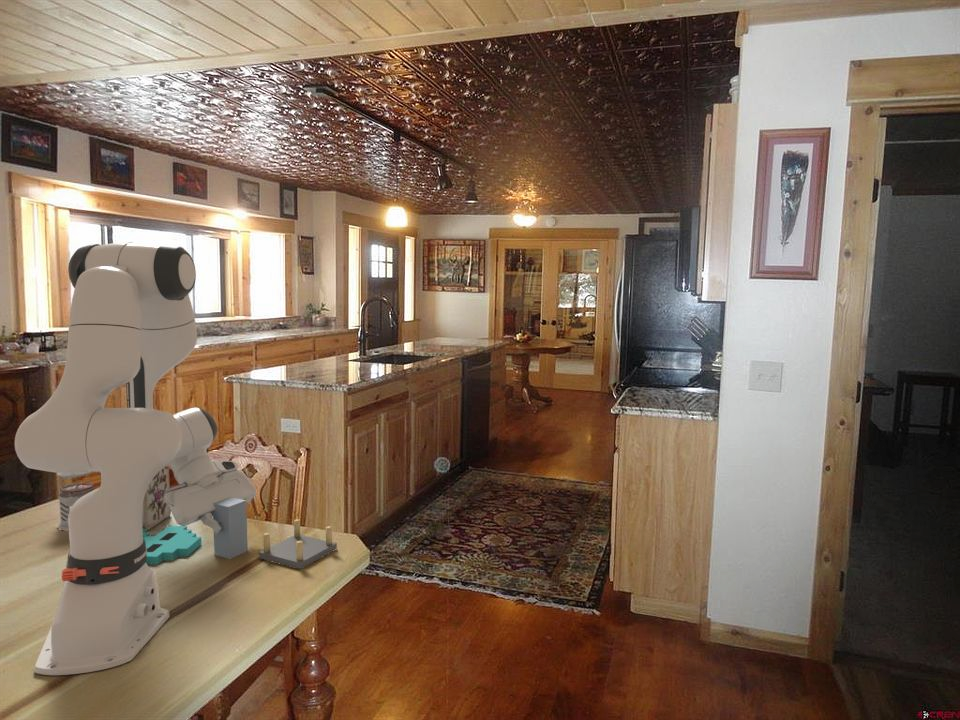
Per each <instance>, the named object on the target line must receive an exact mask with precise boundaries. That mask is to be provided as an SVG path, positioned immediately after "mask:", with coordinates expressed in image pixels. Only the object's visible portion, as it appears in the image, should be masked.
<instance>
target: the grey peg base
mask: <svg viewBox="0 0 960 720" xmlns="http://www.w3.org/2000/svg"><path fill="white" fill-rule="evenodd" d="M262 535H263V536H262V541H263V544H262V545H263V549H262V550H260V551H259V552H258V559H259V558H260V559H259V560H262V559H265V560H264V561H266V560H269V561H268V562H270V561H273V562H272V563H274V562H275V563H274V564H277V563H280V564H279V565H281V564H283V565H282V566H285V565H288V566H287V567H289V566H291V567H290V568H292V567H295V568H294V569H296V568H299V569H298V570H300V569H301V570H302V569H304V568H306V567H308V566H310V565H311V564H313V563H315V562H316V560H317V561H318V559H319V560H320V559H322V558H323V557H322V556H324V557H326V556H327V555H326V554H328V553H329V554H331V553H333V552H334V551H333V550H335V549H337V550H338V545H337V544H338V543H337V542H334V541H333V526H331V525H329V526H325V539H320V538H315V537H311V536H307V535H302V534H301V519H299V518H298V519H294V520H293V535H292V536H289V537H288V538H286V539H284V540H282V541H279V542H277V543H275V544H273V545H271V533H269V532H264V533H262ZM332 551H333V552H332ZM335 551H336V550H335ZM330 552H331V553H330ZM329 554H328V555H329ZM325 555H326V556H325ZM321 557H322V558H321ZM314 561H315V562H314ZM309 564H310V565H309ZM307 565H308V566H307ZM305 566H306V567H305ZM303 567H304V568H303Z"/></svg>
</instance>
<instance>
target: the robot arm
mask: <svg viewBox="0 0 960 720" xmlns="http://www.w3.org/2000/svg"><path fill="white" fill-rule="evenodd" d="M67 270H68V277H69V281H70V283H71V285H72V287H73V288H74V290H73V295H72V298H71V303H70V311H69V316H68V317H69V321H68V335H67V337H68V338H67V348H66V358H65V364H64V370H63V374H62V375H61V379H60V382H59V383H58V385H57V387H56V388H55V390H54V392H53V393H52V395H51V396H50V397H49V399H48V400H47V401H46V402H45V403H44V404H43V405H42V406H41V407H40V408H39V409H37V410H36V411H35V412H33V413H31V414H30V415H28V416H27V417H26V418H25V419H24V420H23V421H22V422H21V424H20V425H19V427H18V428H17V431H16V433H15V437H14V450H15V453H16V455H17V457H18V459H19V461H20V463H22V464H23V465H24V466H25V467H26V468H28V469H31V470H36V471H37V470H38V471H43V472H48V473H49V472H50V473H56V474H57V473H70V472H93V473H100V475H101V477H102V480H101V479H100V486H99V487H97V488H96V489H95V488H94V490H93V491H91V492H89V493H85V494H83V495H84V496H82V497H81V498H79V499H78V500H77V501H76V502H75V503H74V504H73V506H71V507H70V511H69V515H68V525H69V531H68V539H69V552H68V553H67V560H66V564H65V568H64V569H62V570H61V571H62V572H61V580H62V582H63V587H62V590H61V594H60V597H59V600H58V604H57V607H56V610H55V613H54V616H53V617H54V618H53V621H52V623H51V625H50V629H49V631H48V633H47V636H46V637H45V641H44V643H43V646H42V647H41V650H40V652H39V655H38V656H37V660H36V662H35V665H34V673H35V674H38V675H42V676H43V675H45V676H69V675H77V674H85V673H92V672H93V673H94V672H98V671H102V670H106V669H110V668H111V669H112V668H115V667H118V666H120V665H124V664H126V663H128V662H130V661H132V660H133V659H134V658H135V657H136V656H137V654H138V653H140V651H141V650H142V649H143V647H145V645H146V644H148V642H149V641H150V640H151V639H152V637H153V636H154V635H155V634H156V633H157V632H158V631H159V630H160V629H161V628H162V626H163V625H164V624H165V622H167V621H168V620H169V618H170V616H171V615H170V611H169V609H167V608H165V607H164V608H163V607H161V602H160V601H161V600H160V594H159V593H160V592H159V585H158V579H157V578H158V576H157V572H155V571H154V570H152V569H151V568H150V566H148V564H146V561H147V547H146V542H145V540H144V539H143V531H142V513H143V501H144V496H145V493H146V491H147V488H148V486H149V484H150V483H151V481H152V479H153V478H154V477H155V476H156V474H157V473H158V472H159V471H160V470H162V469H163V468H164V467H165V466H168V468H169V469H171V470H172V473H173V476H174V479H175V480H176V482H177V483H178V484H177V485H175V486H170V488H168V489H167V490H166V491H165V492H164V499H165V500H166V502H167V503H168V504H169V507H170V510H171V515H172V517H173V518H174V520H175V522H176V524H177V525H178V526H189V525H191V524H195V523H196V522H200V521H201V522H202V524H203V525H205V526H207V527H210V529H212V530H213V533H214V532H215V533H219V532H221V531H223V529H224V528H225V527H224V525H223V524H222V522H221V521H220V522H217V521H216V520H214V519H213V511H214V510H215V506H214V504H213V503H215V502H218V501H221V500H224V499H227V498H229V497H233V498H237V499H242V500H246V504H247V503H249V502H250V501H252V500H253V499H254V497H255V496H256V495H257V490H256V488H255V486H254V484H253V482H252V481H251V480H250V479H249V477H248V476H247V475H246V473H244V472H243V471H242V470H238V469H239V464H238V462H236V461H234V460H221V459H213V457H212V456H211V455H210V454H209V453H208V452H207V449H208V448H210V447H211V446H212V444H213V443H214V441H215V439H216V437H217V434H218V432H219V431H218V430H219V429H218V425H217V423H216V421H215V419H214V418H213V416H212V415H211V413H210V412H208V411H207V410H206V409H203V408H201V407H199V406H198V407H197V406H195V407H190V408H187V409H184V410H181V411H179V412H175V413H173V414H172V413H171V412H169V411H165V410H160V409H154V390H155V387H156V386H157V383H158V382H159V381H160V380H161V379H162V378H163V377H164V376H165V375H167V373H169V371H171V370H172V369H174V368H175V367H177V365H179V364H180V363H182V362H184V361H185V359H187V358H188V357H189V356H190V355H191V353H192V352H193V351H194V349H195V347H196V345H197V342H198V329H197V324H196V318H195V314H194V309H193V306H192V302H191V298H190V295H189V294H190V293H191V292H192V290H193V289H194V287H195V284H196V278H197V275H196V274H197V271H196V266H195V262H194V259H193V257H192V255H191V254H190V253H189V252H188V251H187V250H186V249H185V248H184V247H182V246H179V245H176V244H175V245H174V244H171V243H170V244H168V243H162V244H154V243H153V244H152V243H141V242H140V243H139V242H138V243H134V242H130V241H129V242H116V243H114V242H113V243H105V244H100V243H95V244H90V245H89V244H88V245H85V246H81V247H79V248H77V250H75V251H74V253H73V254H72V256H71V257H70V259H69V261H68V269H67ZM124 385H125V388H126V389H125V392H126V393H125V394H126V407H105V405H106V402H107V400H108V398H109V396H110V394H111V393H112V392H113V391H114V390H116V389H118V388H120V387H122V386H124ZM101 477H100V478H101Z"/></svg>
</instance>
